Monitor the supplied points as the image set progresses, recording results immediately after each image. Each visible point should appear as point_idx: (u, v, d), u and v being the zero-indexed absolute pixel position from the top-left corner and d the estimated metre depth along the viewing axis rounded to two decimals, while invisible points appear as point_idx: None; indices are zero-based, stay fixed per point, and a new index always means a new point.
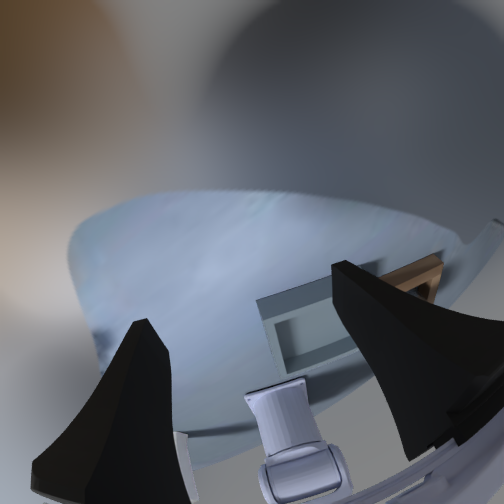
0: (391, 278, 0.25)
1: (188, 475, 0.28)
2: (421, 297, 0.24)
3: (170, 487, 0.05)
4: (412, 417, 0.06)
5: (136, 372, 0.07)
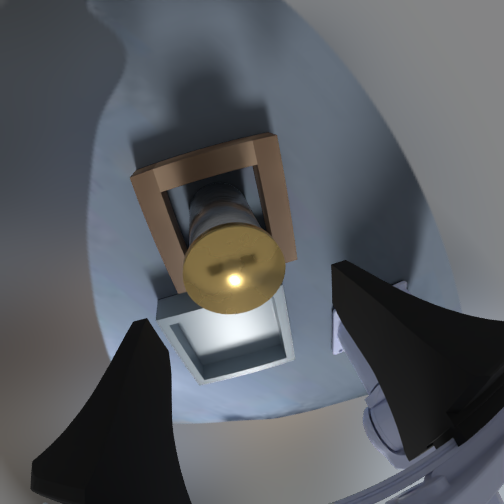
0: None
1: None
2: None
3: (170, 487, 0.05)
4: (412, 417, 0.06)
5: (136, 372, 0.07)
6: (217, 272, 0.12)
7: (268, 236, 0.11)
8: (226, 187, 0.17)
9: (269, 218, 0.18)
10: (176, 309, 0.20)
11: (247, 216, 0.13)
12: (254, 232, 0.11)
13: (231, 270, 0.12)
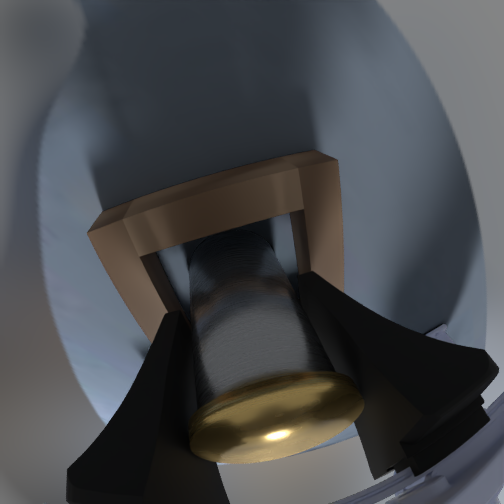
0: None
1: None
2: (190, 308, 0.10)
3: (211, 484, 0.05)
4: (373, 438, 0.06)
5: (175, 364, 0.07)
6: (251, 441, 0.05)
7: (351, 391, 0.05)
8: (248, 242, 0.11)
9: None
10: None
11: (298, 325, 0.07)
12: (329, 395, 0.05)
13: (276, 436, 0.05)
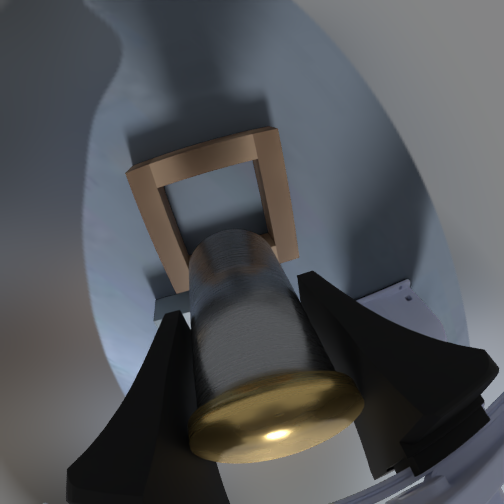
0: None
1: None
2: (190, 307, 0.09)
3: (211, 484, 0.05)
4: (372, 438, 0.06)
5: (175, 365, 0.07)
6: (251, 440, 0.05)
7: (351, 390, 0.05)
8: (247, 241, 0.11)
9: (270, 215, 0.17)
10: (174, 309, 0.19)
11: (298, 324, 0.07)
12: (329, 394, 0.05)
13: (276, 435, 0.05)
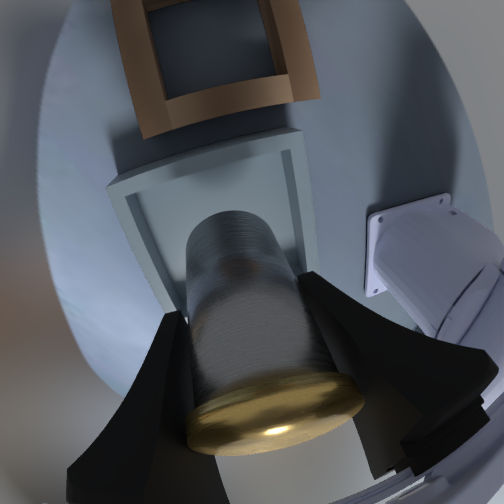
0: None
1: None
2: (187, 293, 0.09)
3: (211, 484, 0.05)
4: (372, 438, 0.06)
5: (175, 365, 0.07)
6: (249, 438, 0.05)
7: (353, 393, 0.05)
8: (248, 224, 0.10)
9: (279, 34, 0.10)
10: (139, 172, 0.12)
11: (301, 318, 0.07)
12: (332, 398, 0.05)
13: (274, 433, 0.05)
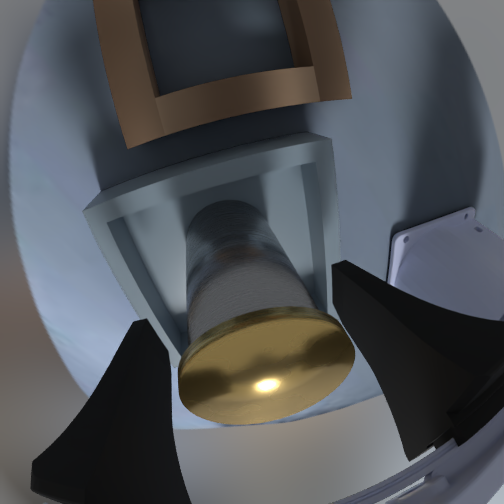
0: None
1: None
2: (186, 268, 0.10)
3: (170, 487, 0.05)
4: (412, 416, 0.06)
5: (136, 372, 0.07)
6: (241, 387, 0.06)
7: (340, 330, 0.06)
8: (242, 209, 0.11)
9: (302, 16, 0.07)
10: (123, 190, 0.10)
11: (288, 274, 0.08)
12: (318, 329, 0.05)
13: (266, 383, 0.06)
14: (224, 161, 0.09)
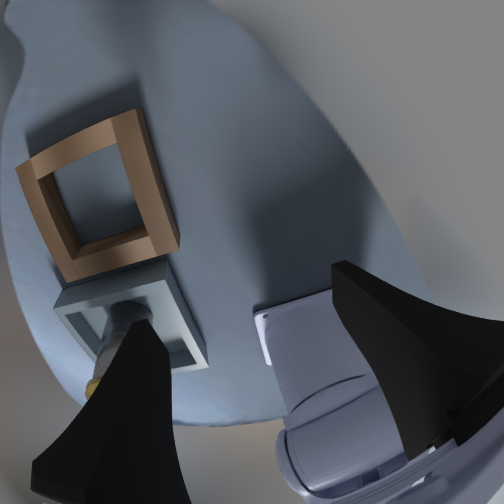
0: None
1: None
2: None
3: (170, 487, 0.05)
4: (412, 416, 0.06)
5: (136, 372, 0.07)
6: None
7: None
8: (129, 310, 0.18)
9: (137, 201, 0.15)
10: (70, 299, 0.17)
11: None
12: None
13: None
14: (110, 293, 0.17)
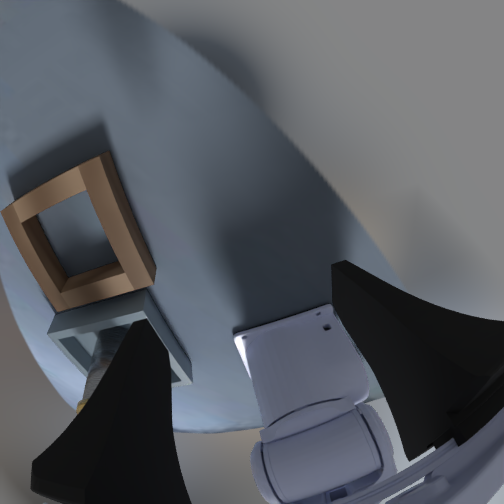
0: None
1: None
2: None
3: (170, 487, 0.05)
4: (412, 417, 0.06)
5: (136, 372, 0.07)
6: None
7: None
8: (114, 335, 0.19)
9: (111, 243, 0.15)
10: (62, 325, 0.17)
11: None
12: None
13: None
14: (96, 321, 0.17)
